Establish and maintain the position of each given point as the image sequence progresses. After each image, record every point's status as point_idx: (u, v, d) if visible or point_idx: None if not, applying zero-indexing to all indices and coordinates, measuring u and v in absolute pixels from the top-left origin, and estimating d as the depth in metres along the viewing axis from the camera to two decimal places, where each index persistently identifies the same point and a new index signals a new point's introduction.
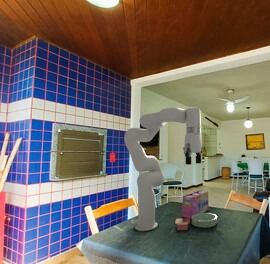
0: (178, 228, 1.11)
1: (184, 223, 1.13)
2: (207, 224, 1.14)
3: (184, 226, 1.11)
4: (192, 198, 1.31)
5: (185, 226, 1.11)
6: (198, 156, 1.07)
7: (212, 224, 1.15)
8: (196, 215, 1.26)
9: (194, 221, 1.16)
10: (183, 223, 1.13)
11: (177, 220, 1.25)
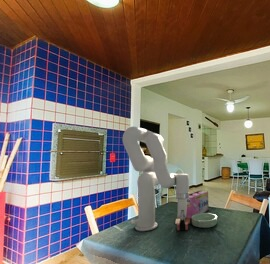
0: (178, 228, 1.11)
1: None
2: (207, 224, 1.14)
3: None
4: (192, 198, 1.31)
5: (185, 226, 1.11)
6: None
7: (212, 224, 1.15)
8: (196, 215, 1.26)
9: (194, 221, 1.16)
10: None
11: (177, 220, 1.25)
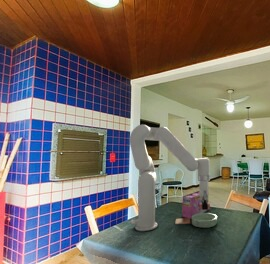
0: (201, 208, 1.20)
1: None
2: (207, 224, 1.14)
3: None
4: (192, 198, 1.31)
5: None
6: None
7: (212, 224, 1.15)
8: (196, 215, 1.26)
9: (194, 221, 1.16)
10: None
11: (177, 220, 1.25)
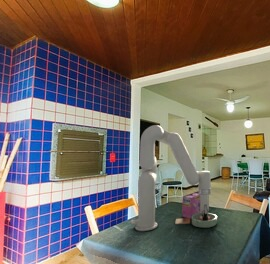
0: None
1: None
2: (207, 224, 1.14)
3: None
4: (192, 198, 1.31)
5: None
6: None
7: (212, 224, 1.15)
8: (196, 215, 1.26)
9: (194, 221, 1.16)
10: None
11: (177, 220, 1.25)
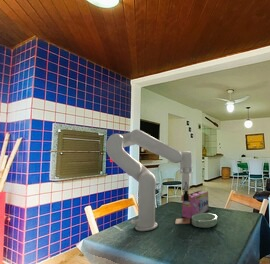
0: (182, 199, 1.23)
1: None
2: (207, 224, 1.14)
3: None
4: (192, 198, 1.31)
5: None
6: None
7: (212, 224, 1.15)
8: (196, 215, 1.26)
9: (194, 221, 1.16)
10: None
11: (177, 220, 1.25)
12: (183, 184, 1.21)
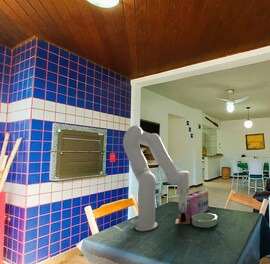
0: (179, 220, 1.23)
1: None
2: (207, 224, 1.14)
3: None
4: (192, 198, 1.31)
5: None
6: None
7: (212, 224, 1.15)
8: (196, 215, 1.26)
9: (194, 221, 1.16)
10: None
11: (177, 220, 1.25)
12: (180, 205, 1.21)
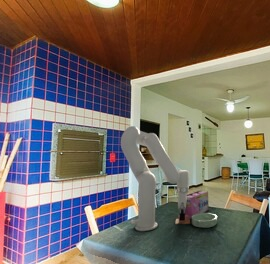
0: (179, 220, 1.23)
1: (185, 215, 1.25)
2: (207, 224, 1.14)
3: (185, 218, 1.24)
4: (192, 198, 1.31)
5: (185, 218, 1.24)
6: None
7: (212, 224, 1.15)
8: (196, 215, 1.26)
9: (194, 221, 1.16)
10: None
11: (177, 220, 1.25)
12: (179, 204, 1.20)
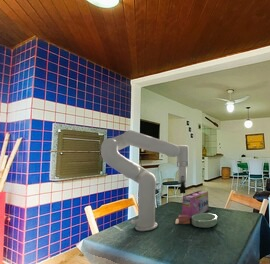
0: (179, 220, 1.23)
1: (185, 215, 1.25)
2: (207, 224, 1.14)
3: (185, 218, 1.24)
4: (192, 198, 1.31)
5: (185, 218, 1.24)
6: None
7: (212, 224, 1.15)
8: (196, 215, 1.26)
9: (194, 221, 1.16)
10: (184, 215, 1.25)
11: (177, 220, 1.25)
12: (180, 178, 1.22)
